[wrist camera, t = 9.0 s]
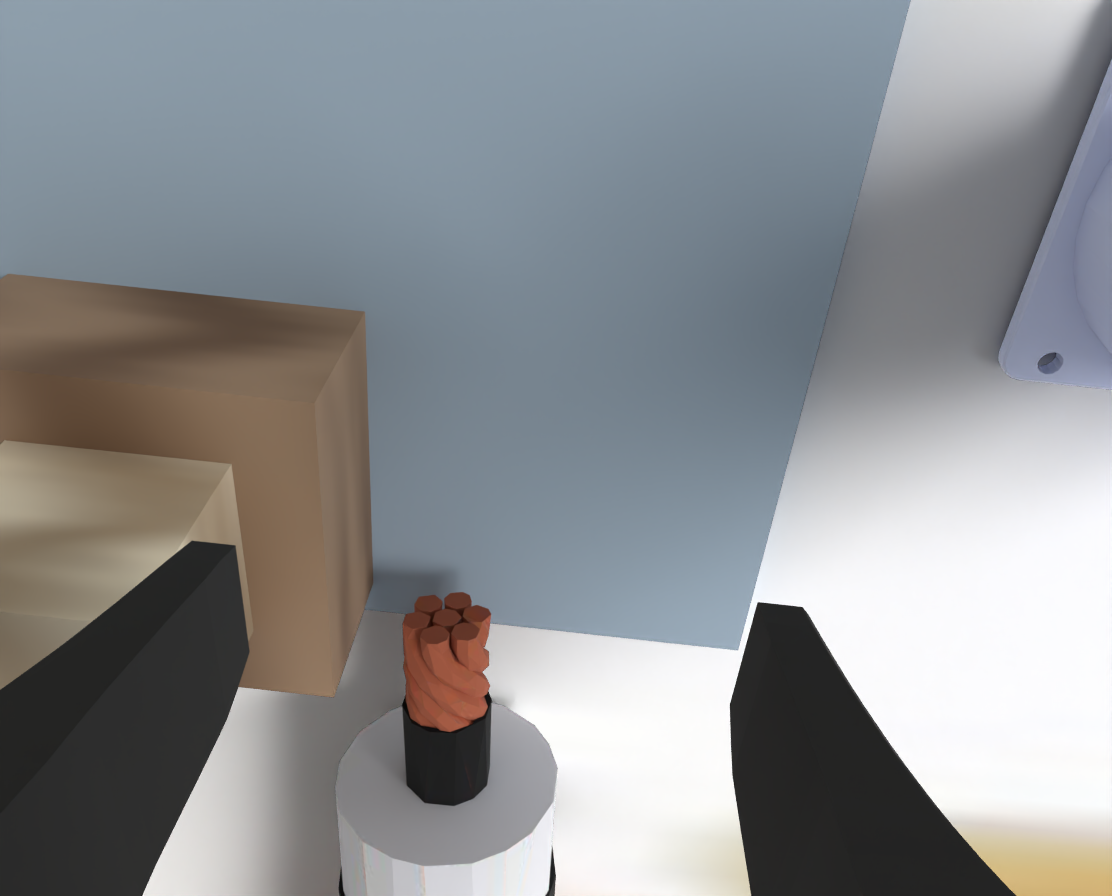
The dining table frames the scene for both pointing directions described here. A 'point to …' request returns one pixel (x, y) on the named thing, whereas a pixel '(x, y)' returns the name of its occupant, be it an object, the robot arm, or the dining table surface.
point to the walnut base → (219, 435)
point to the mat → (489, 253)
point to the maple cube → (95, 536)
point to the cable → (447, 776)
